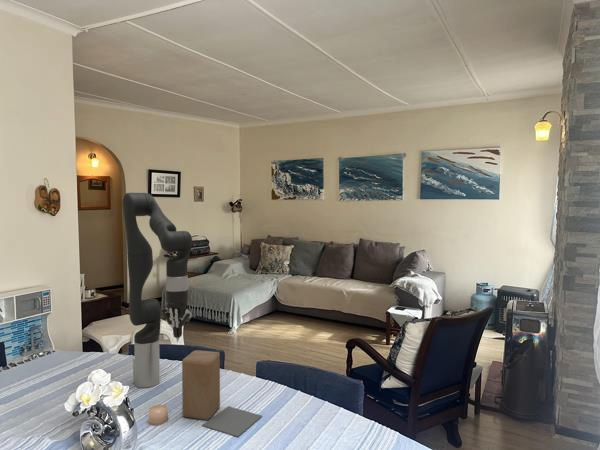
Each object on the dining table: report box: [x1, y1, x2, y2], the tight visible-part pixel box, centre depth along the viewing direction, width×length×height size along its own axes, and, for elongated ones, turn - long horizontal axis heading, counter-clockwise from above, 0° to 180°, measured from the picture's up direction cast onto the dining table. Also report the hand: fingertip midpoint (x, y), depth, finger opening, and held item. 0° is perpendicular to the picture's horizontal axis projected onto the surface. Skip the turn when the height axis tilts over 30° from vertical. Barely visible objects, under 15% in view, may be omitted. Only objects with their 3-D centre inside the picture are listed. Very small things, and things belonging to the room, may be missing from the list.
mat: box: [201, 405, 263, 438], centre depth 140 cm, size 14×14×1 cm
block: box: [181, 349, 221, 421], centre depth 146 cm, size 10×10×20 cm
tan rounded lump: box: [148, 404, 169, 426], centre depth 140 cm, size 6×6×4 cm
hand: (177, 337), depth 150 cm, fingers closed
